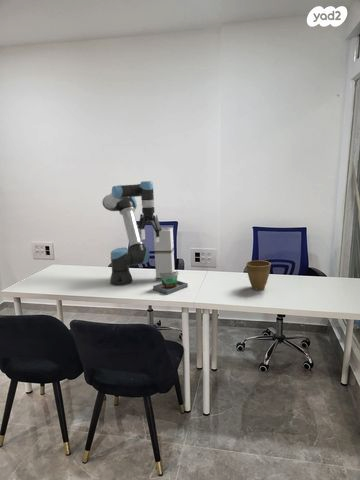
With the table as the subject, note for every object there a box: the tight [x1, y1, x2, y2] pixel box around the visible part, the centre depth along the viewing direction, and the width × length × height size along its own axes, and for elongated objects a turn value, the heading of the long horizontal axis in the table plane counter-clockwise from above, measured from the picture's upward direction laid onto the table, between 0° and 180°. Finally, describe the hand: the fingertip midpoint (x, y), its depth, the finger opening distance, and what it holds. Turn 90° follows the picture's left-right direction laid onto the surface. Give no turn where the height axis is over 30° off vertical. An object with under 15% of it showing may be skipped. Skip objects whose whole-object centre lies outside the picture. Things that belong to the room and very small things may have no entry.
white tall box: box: [153, 227, 176, 282], centre depth 237 cm, size 11×11×35 cm
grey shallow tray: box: [152, 279, 189, 296], centre depth 220 cm, size 14×18×2 cm
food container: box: [160, 269, 179, 289], centre depth 218 cm, size 12×6×10 cm, turn 106°
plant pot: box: [245, 260, 272, 291], centre depth 213 cm, size 15×15×16 cm
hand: (150, 240), depth 214 cm, fingers open, 13 cm apart
